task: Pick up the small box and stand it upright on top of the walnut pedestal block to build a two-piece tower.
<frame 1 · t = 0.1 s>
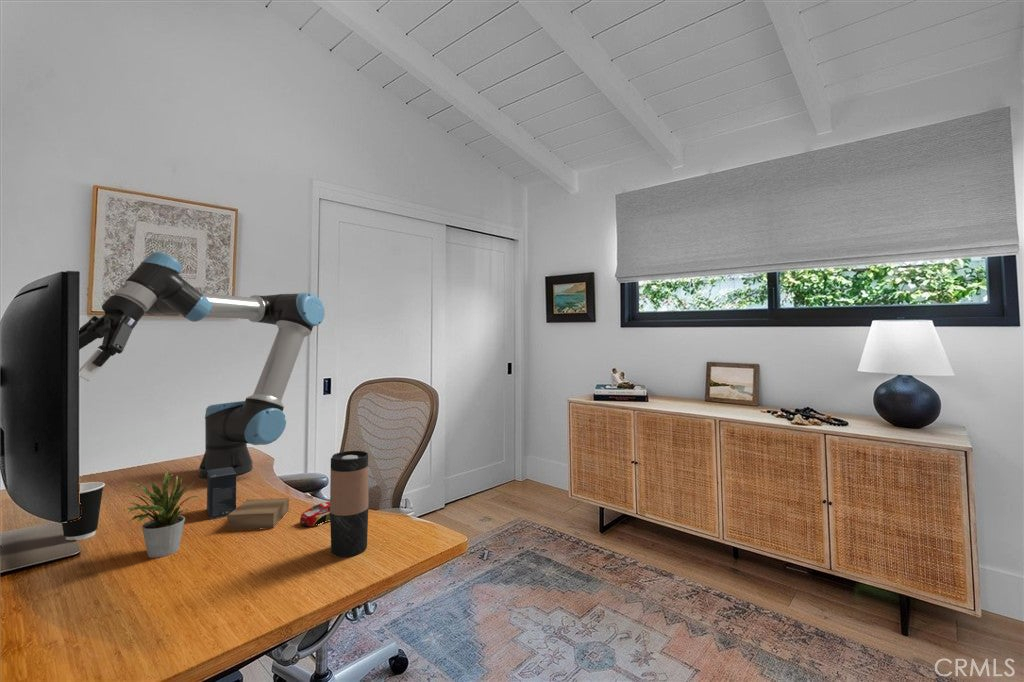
hand: (64, 376, 99), 36 cm above the table, tool tilted 35°, fingers open, 13 cm apart
travel mug: (349, 550, 94), on the table
box: (221, 513, 114), on the table
race car: (328, 519, 111), on the table
house plant: (160, 551, 93), on the table
walnut pedestal: (259, 522, 108), on the table
dixie cup: (80, 537, 100), on the table
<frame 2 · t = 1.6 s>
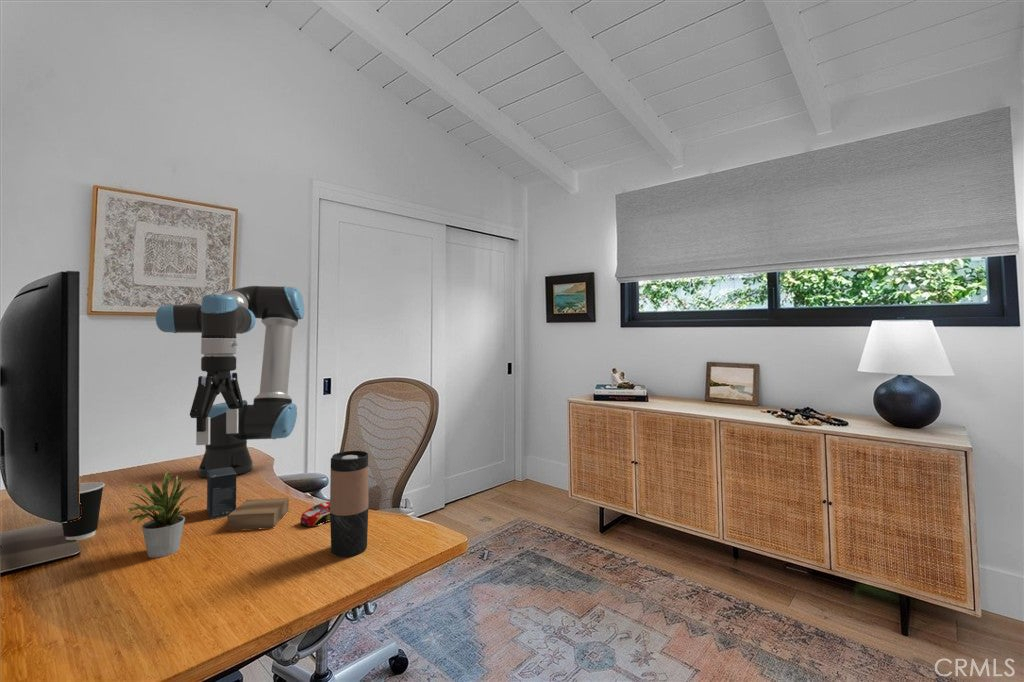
hand: (218, 438, 113), 19 cm above the table, tool pointing down, fingers open, 13 cm apart
nothing on the table moved.
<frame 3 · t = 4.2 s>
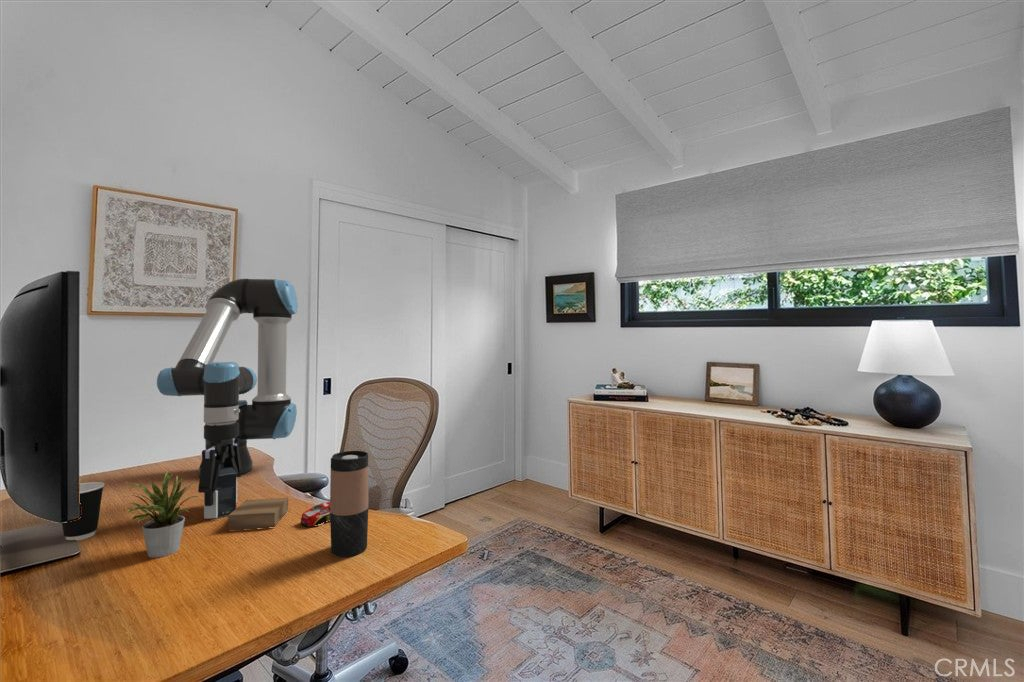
hand: (221, 509, 114), 1 cm above the table, tool pointing down, fingers closed on box, 9 cm apart
box: (221, 513, 114), on the table, touching gripper
everything else where it was.
when the fingers open (6 cm above the table, at t = 10.4 s): box drops 2 cm, resting on walnut pedestal.
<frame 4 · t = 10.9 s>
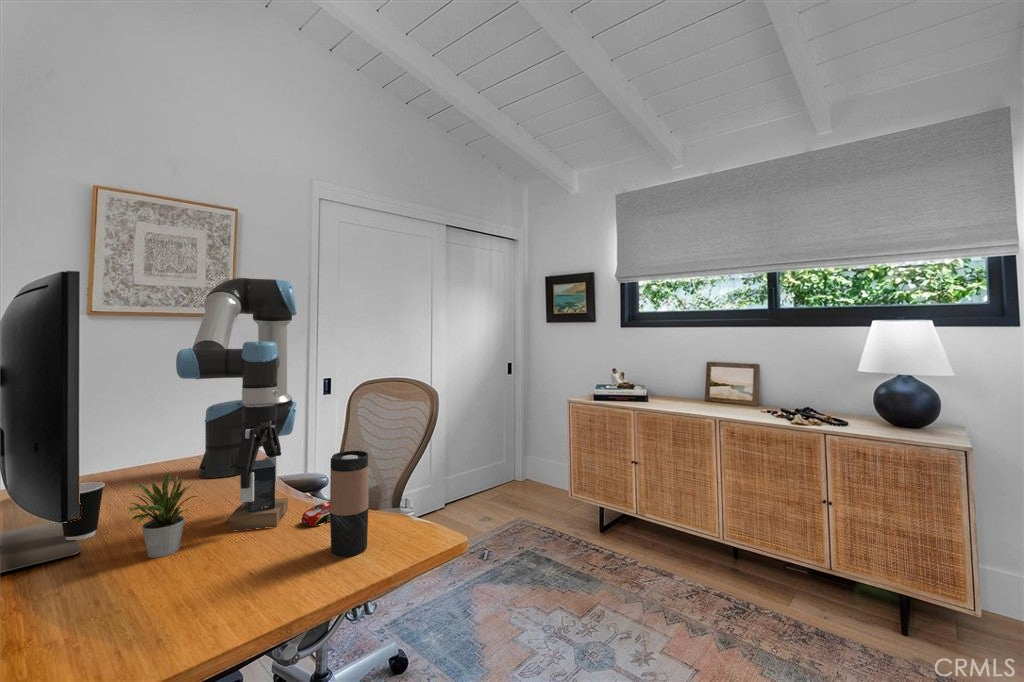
hand: (259, 491, 108), 7 cm above the table, tool pointing down, fingers open, 13 cm apart
box: (259, 507, 109), point 3 cm above the table, touching walnut pedestal
walnut pedestal: (259, 523, 108), on the table, touching box
everything else where it was.
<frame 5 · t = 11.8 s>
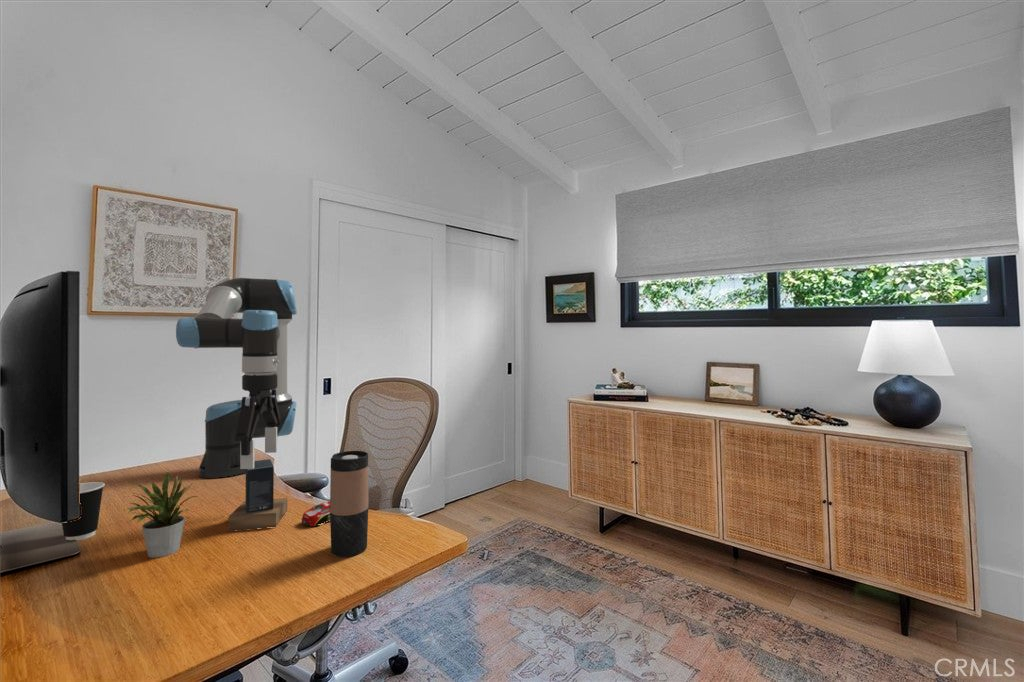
hand: (260, 460, 109), 15 cm above the table, tool pointing down, fingers open, 13 cm apart
nothing on the table moved.
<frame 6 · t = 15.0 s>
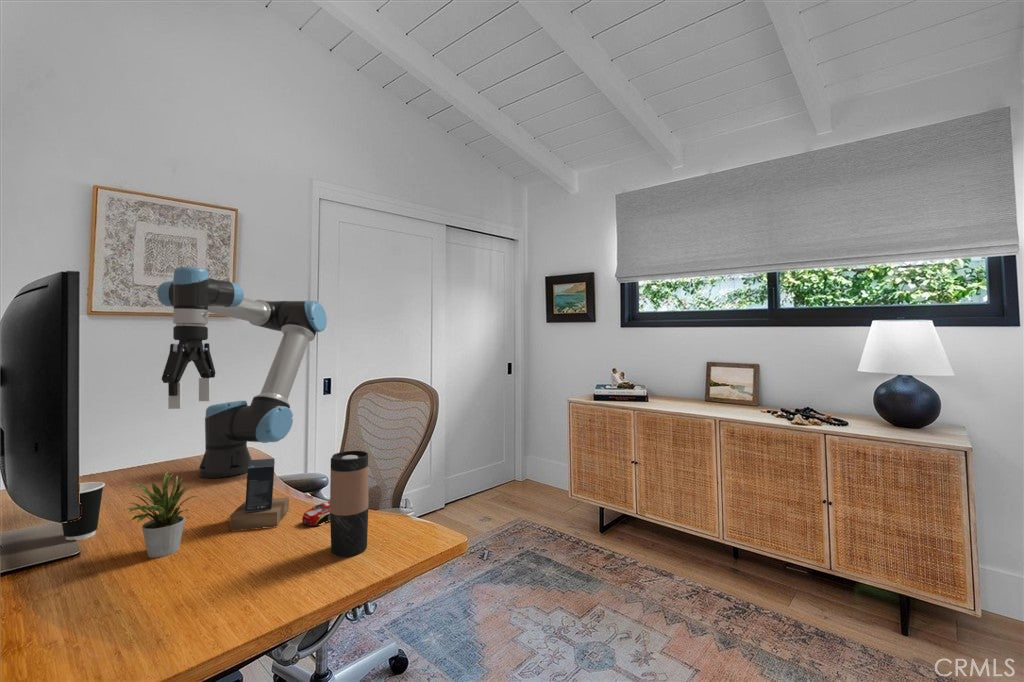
hand: (190, 404, 119), 27 cm above the table, tool pointing down, fingers open, 13 cm apart
nothing on the table moved.
at the end: box inside the target area on the walnut pedestal (0.4 cm from its centre), point 3.8 cm above the walnut pedestal's base; box tilted 1°; the gripper is holding nothing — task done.
